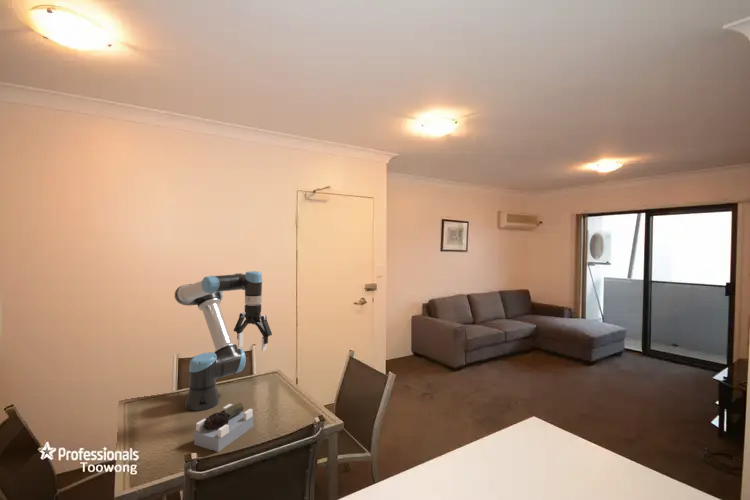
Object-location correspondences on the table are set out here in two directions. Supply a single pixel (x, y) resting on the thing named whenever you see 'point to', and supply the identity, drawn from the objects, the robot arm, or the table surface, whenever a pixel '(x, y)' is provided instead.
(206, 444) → the grey block with tabs
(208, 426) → the brown lumpy club
